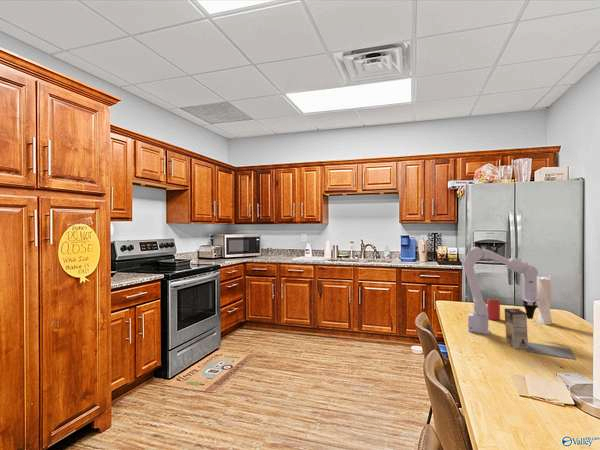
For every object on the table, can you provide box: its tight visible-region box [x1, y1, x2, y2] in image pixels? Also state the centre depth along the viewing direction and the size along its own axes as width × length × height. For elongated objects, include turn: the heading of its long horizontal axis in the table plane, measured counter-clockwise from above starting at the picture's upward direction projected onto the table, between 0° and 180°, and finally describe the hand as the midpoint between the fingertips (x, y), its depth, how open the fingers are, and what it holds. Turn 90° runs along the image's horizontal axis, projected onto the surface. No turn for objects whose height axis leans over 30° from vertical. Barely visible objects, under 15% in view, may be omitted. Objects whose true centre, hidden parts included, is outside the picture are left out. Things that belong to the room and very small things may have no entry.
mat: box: [526, 341, 577, 361], centre depth 152 cm, size 17×14×1 cm
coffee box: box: [504, 308, 529, 350], centre depth 159 cm, size 9×6×16 cm
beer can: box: [486, 297, 501, 321], centre depth 203 cm, size 7×7×12 cm
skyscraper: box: [533, 274, 555, 326], centre depth 194 cm, size 8×8×28 cm
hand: (529, 316), depth 170 cm, fingers open, 7 cm apart
